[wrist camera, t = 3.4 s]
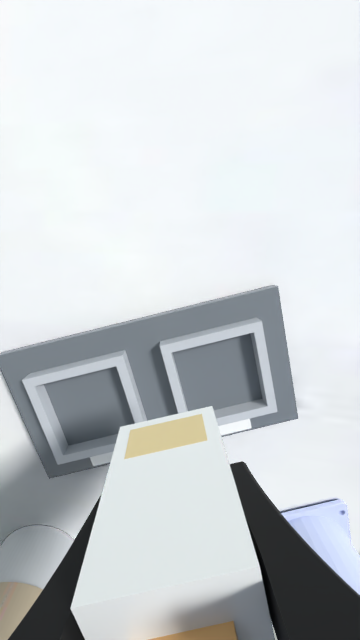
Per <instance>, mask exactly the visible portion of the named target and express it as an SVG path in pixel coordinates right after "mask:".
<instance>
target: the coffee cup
mask: <svg viewBox="0 0 360 640" xmlns="http://www.w3.org/2000/svg"><path fill="white" fill-rule="evenodd" d="M73 542H74V539H73V538H72V537H71V536H69V535H68V534H67V533H65V532H63V531H62V530H60V529H57V528H54V527H51V526H45V525H32V526H26V527H23V528H20V529H18V530H16V531H14V532H12V533H11V534H10V535H9V536H8V537H7V538H6V539H5V540H4V542H3V543H2V545H1V546H0V640H8V638H9V637H10V636H11V634H12V633H13V632H14V630H15V629H16V628H17V626H18V625H19V623H20V622H21V621H22V619H23V618H24V616H25V615H26V614H27V612H28V611H29V609H30V608H31V607H32V605H33V604H34V602H35V601H36V599H37V598H38V596H39V595H40V593H41V592H42V590H43V589H44V587H45V586H46V584H47V583H48V581H49V580H50V578H51V577H52V575H53V574H54V572H55V571H56V569H57V568H58V566H59V564H60V563H61V561H62V560H63V558H64V556H65V555H66V553H67V552H68V550H69V548H70V547H71V545H72V543H73Z"/></svg>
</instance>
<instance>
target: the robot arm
mask: <svg viewBox="0 0 360 640" xmlns="http://www.w3.org/2000/svg"><path fill="white" fill-rule="evenodd" d="M230 467H231V471H232V474H233V478H234V481H235V484H236V488H237V491H238V495H239V498H240V501H241V505H242V508H243V512H244V515H245V518H246V522H247V525H248V528H249V532H250V535H251V539H252V542H253V545H254V549H255V552H256V556H257V559H258V562H259V566H260V570H261V575H262V580H263V585H264V589H265V594H266V599H267V604H268V609H269V614H270V618H271V621H272V624H273V627H274V630H275V633H276V636H277V639H278V640H360V556H359V554H358V552H357V551H356V549H355V548H354V546H353V545H352V543H351V536H350V527H349V518H348V509H347V504H346V503H345V502H344V501H343V500H341V499H339V500H334V501H330V502H326V503H322V504H317V505H313V506H309V507H305V508H300V509H296V510H292V511H288V512H284V513H280V512H279V510H278V509H277V508H276V507H275V505H274V504H273V503H272V502H271V500H270V499H269V498H268V496H267V495H266V494H265V493H264V491H263V490H262V488H261V487H260V486H259V484H258V483H257V481H256V480H255V478H254V477H253V475H252V474H251V472H250V470H249V469H248V467H247V465H246V463H244V462H238V463H234V464H230ZM100 499H101V496H100V498H99V499H98V501H97V503H96V504H95V506H94V508H93V510H92V511H91V513H90V515H89V516H88V518H87V520H86V522H85V523H84V525H83V527H82V528H81V530H80V532H79V533H78V535H77V537H76V538H75V540H74V542H73V543H72V545H71V547H70V548H69V550H68V552H67V553H66V555H65V556H64V558H63V560H62V561H61V563H60V564H59V566H58V568H57V569H56V571H55V572H54V574H53V575H52V577H51V578H50V580H49V581H48V583H47V584H46V586H45V587H44V589H43V590H42V592H41V593H40V595H39V596H38V598H37V599H36V601H35V602H34V604H33V605H32V607H31V608H30V609H29V611H28V612H27V614H26V615H25V616H24V618H23V619H22V621H21V622H20V623H19V625H18V626H17V628H16V629H15V630H14V632H13V633H12V634H11V636H10V637H9V638H8V640H85V639H84V636H83V634H82V632H81V630H80V628H79V626H78V624H77V621H76V619H75V617H74V615H73V613H72V611H71V609H70V608H71V604H72V601H73V597H74V593H75V590H76V586H77V582H78V579H79V575H80V572H81V568H82V564H83V561H84V557H85V553H86V550H87V546H88V542H89V539H90V535H91V531H92V528H93V524H94V521H95V517H96V513H97V510H98V506H99V502H100Z"/></svg>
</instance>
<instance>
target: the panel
mask: <svg viewBox="0 0 360 640" xmlns="http://www.w3.org/2000/svg"><path fill="white" fill-rule="evenodd" d="M0 368H1V371H2V373H3V375H4V377H5V380H6V382H7V384H8V387H9V389H10V391H11V393H12V396H13V398H14V400H15V402H16V405H17V407H18V409H19V411H20V414H21V416H22V418H23V421H24V423H25V425H26V427H27V430H28V432H29V434H30V436H31V439H32V441H33V443H34V445H35V448H36V450H37V452H38V455H39V457H40V459H41V461H42V464H43V466H44V468H45V470H46V473H47V475H48V477H49V478H53V477H57V476H62V475H66V474H70V473H74V472H78V471H82V470H87V469H91V468H95V467H99V466H103V465H107V464H110V462H111V459H112V455H113V451H114V448H115V444H116V440H117V437H118V433H119V429H120V427H122V426H126V425H131V424H135V423H139V422H144V421H148V420H152V419H157V418H161V417H166V416H170V415H174V414H179V413H183V412H187V411H192V410H196V409H201V408H205V407H209V406H212V407H213V410H214V413H215V417H216V420H217V423H218V427H219V430H220V434H221V437H223V436H228V435H232V434H236V433H240V432H244V431H248V430H253V429H257V428H261V427H265V426H269V425H273V424H277V423H282V422H286V421H290V420H294V419H298V414H297V407H296V401H295V394H294V388H293V381H292V375H291V368H290V362H289V355H288V349H287V342H286V336H285V329H284V322H283V316H282V309H281V303H280V296H279V290H278V286H275V285H271V286H267V287H263V288H259V289H255V290H251V291H247V292H243V293H239V294H235V295H231V296H227V297H223V298H219V299H215V300H211V301H207V302H203V303H199V304H195V305H190V306H186V307H182V308H178V309H174V310H170V311H166V312H162V313H158V314H154V315H150V316H146V317H142V318H138V319H134V320H130V321H126V322H122V323H118V324H114V325H110V326H106V327H102V328H98V329H94V330H90V331H86V332H82V333H78V334H74V335H70V336H66V337H61V338H57V339H53V340H49V341H45V342H41V343H37V344H33V345H29V346H25V347H21V348H17V349H13V350H9V351H5V352H2V353H0Z"/></svg>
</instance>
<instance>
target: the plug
mask: <svg viewBox="0 0 360 640" xmlns="http://www.w3.org/2000/svg"><path fill="white" fill-rule="evenodd" d="M70 609H71V611H72V613H73V615H74V617H75V619H76V621H77V624H78V626H79V628H80V630H81V632H82V634H83V636H84V639H85V640H275V638H274V633H273V628H272V623H271V618H270V614H269V609H268V604H267V599H266V594H265V589H264V585H263V580H262V575H261V570H260V566H259V562H258V559H257V556H256V552H255V549H254V545H253V542H252V539H251V535H250V532H249V528H248V525H247V522H246V518H245V515H244V512H243V508H242V505H241V501H240V498H239V495H238V491H237V488H236V484H235V481H234V478H233V474H232V471H231V467H230V464H229V461H228V457H227V454H226V451H225V447H224V444H223V440H222V437H221V434H220V430H219V427H218V423H217V420H216V417H215V413H214V410H213V407H212V406H209V407H205V408H201V409H196V410H192V411H187V412H183V413H179V414H174V415H170V416H166V417H161V418H157V419H152V420H148V421H144V422H139V423H135V424H131V425H126V426H122V427H120V429H119V433H118V437H117V440H116V444H115V448H114V451H113V455H112V459H111V462H110V466H109V470H108V473H107V477H106V480H105V484H104V488H103V491H102V495H101V499H100V502H99V506H98V510H97V513H96V517H95V521H94V524H93V528H92V531H91V535H90V539H89V542H88V546H87V550H86V553H85V557H84V561H83V564H82V568H81V572H80V575H79V579H78V582H77V586H76V590H75V593H74V597H73V601H72V604H71V608H70Z"/></svg>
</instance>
